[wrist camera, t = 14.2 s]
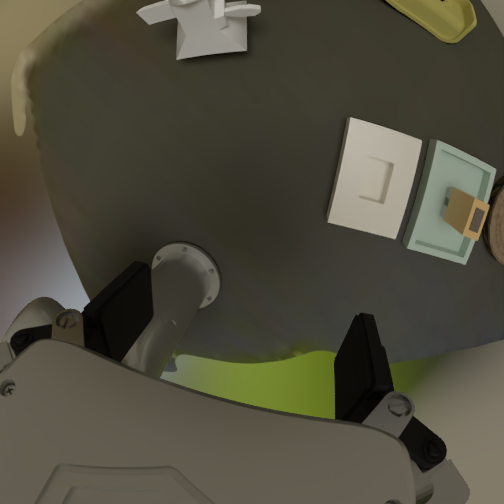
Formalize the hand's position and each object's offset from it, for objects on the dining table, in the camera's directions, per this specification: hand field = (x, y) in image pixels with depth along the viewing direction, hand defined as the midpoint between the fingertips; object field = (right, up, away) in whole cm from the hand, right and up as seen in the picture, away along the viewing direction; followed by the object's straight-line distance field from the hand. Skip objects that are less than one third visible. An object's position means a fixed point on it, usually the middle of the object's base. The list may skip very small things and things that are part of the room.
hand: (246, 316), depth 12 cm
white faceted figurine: (-4, +33, +17) cm, 38 cm away
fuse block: (+16, +13, +22) cm, 31 cm away
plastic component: (+23, +42, +8) cm, 49 cm away
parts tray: (+30, +10, +21) cm, 38 cm away
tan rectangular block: (+29, +10, +20) cm, 37 cm away
